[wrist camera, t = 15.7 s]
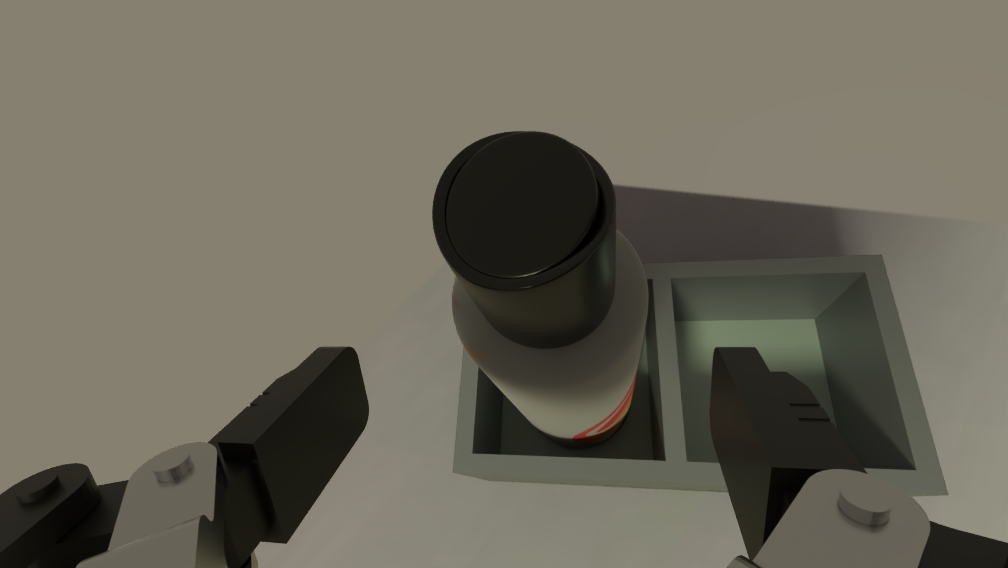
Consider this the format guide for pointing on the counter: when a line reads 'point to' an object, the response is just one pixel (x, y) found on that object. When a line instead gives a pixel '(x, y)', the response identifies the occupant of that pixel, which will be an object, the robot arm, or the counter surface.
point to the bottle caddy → (688, 372)
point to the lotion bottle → (544, 281)
